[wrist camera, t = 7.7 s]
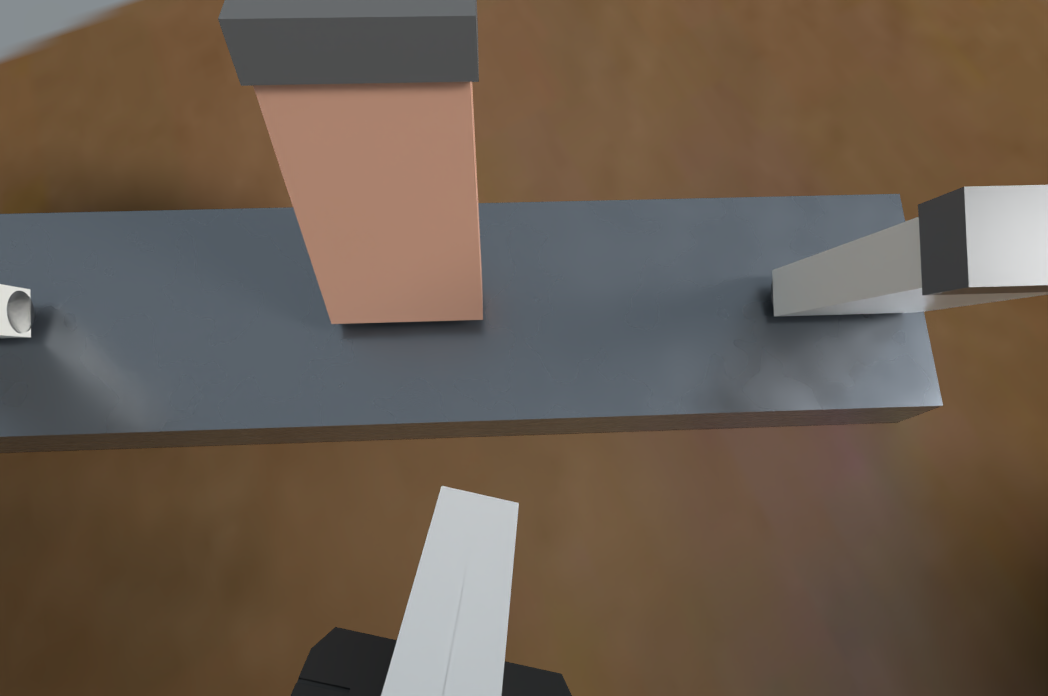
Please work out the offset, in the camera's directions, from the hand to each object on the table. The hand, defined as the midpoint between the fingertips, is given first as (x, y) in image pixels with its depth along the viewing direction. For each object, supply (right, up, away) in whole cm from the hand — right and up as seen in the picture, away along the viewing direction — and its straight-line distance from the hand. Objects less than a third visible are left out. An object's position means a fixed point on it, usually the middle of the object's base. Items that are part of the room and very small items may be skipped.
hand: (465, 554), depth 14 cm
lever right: (+12, +6, +11) cm, 18 cm away
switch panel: (-3, +4, +14) cm, 15 cm away
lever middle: (-3, +5, +11) cm, 12 cm away
